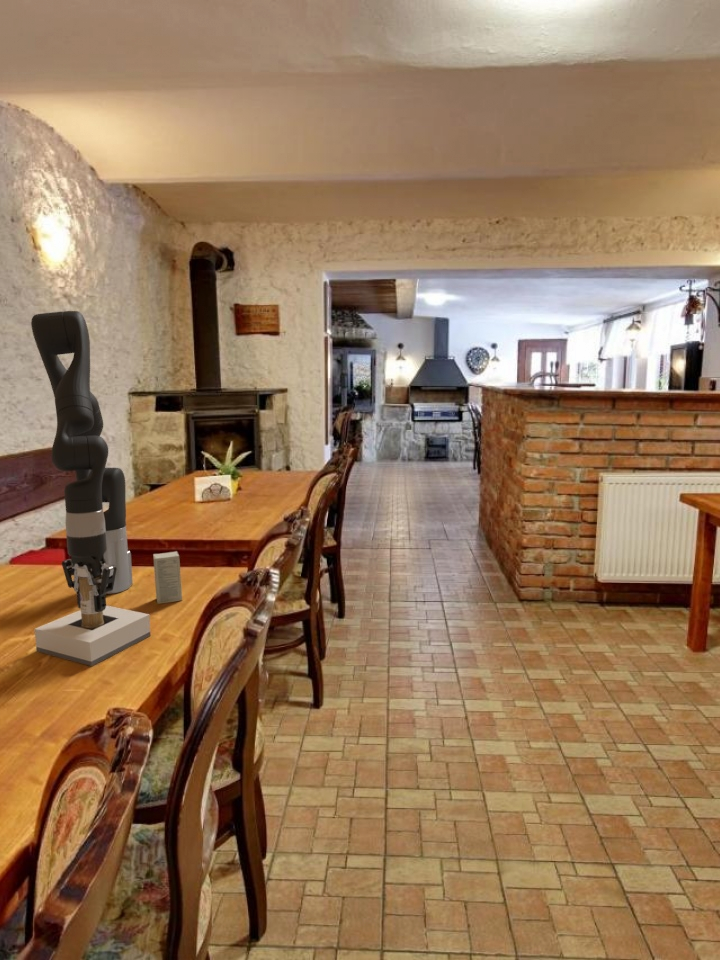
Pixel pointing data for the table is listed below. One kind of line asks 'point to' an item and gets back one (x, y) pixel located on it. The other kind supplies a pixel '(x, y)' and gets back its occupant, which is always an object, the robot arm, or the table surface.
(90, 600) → the sprinkles bottle
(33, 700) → the table surface
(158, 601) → the skincare box
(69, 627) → the socket block
